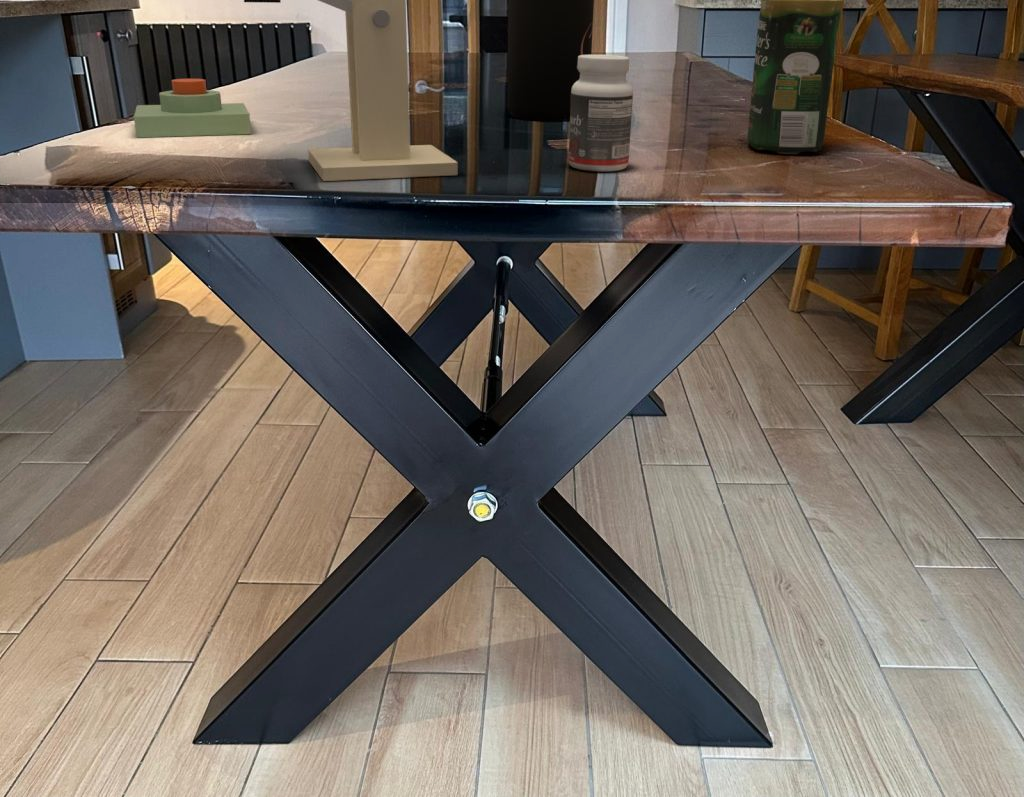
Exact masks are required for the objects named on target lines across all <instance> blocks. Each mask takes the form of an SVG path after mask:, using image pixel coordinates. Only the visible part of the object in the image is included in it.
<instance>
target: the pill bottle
mask: <svg viewBox="0 0 1024 797" xmlns="http://www.w3.org/2000/svg"><path fill="white" fill-rule="evenodd" d="M577 69H578V70H579V72H580V79H579V80H578V81H576V82H575V83H574V85H573V86H572V90H571V110H570V120H569V136H568V138H569V139H568V164H569V166H571V167H572V168H573V169H576V170H580V171H585V172H586V171H587V172H600V173H601V172H602V173H604V172H605V173H607V172H618V171H622V170H624V169H626V168H627V167H628V165H629V161H630V160H629V159H630V147H631V129H632V117H633V116H632V115H633V101H634V100H633V99H634V90H633V87H632V85H631V84H630V82H628V81H627V77H626V76H627V74H628V72H629V71H630V57H629V56H626V55H616V54H591V55H580V56H578V64H577Z"/></svg>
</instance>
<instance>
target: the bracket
mask: <svg viewBox="0 0 1024 797" xmlns="http://www.w3.org/2000/svg"><path fill="white" fill-rule="evenodd" d="M406 2H407V0H352V10H353V14H350V13H348V12H345V11H344V12H345V14H344V15H345V33H346V52H347V70H348V71H347V73H348V90H349V111H350V129H351V130H350V131H351V147H329V148H327V147H325V148H307V149H308V150H307V153H308V162H309V163H310V165H311V166H312V167H313V168H314V170H315V172H316V174H318V176H319V177H320V179H321V180H322V181H323V182H339V181H340V182H341V181H362V180H363V181H364V180H383V179H385V180H386V179H406V178H429V177H431V178H433V177H454V176H455V177H456V176H458V174H459V170H458V169H459V167H458V165H459V164H458V161H457V160H455V159H453V158H452V157H450V156H449V155H448V154H447V153H444V152H443V151H441V150H440V149H438V148H437V147H436V146H433V145H432V144H418V145H417V144H416V145H413V144H412V145H411V144H410V115H409V114H410V112H409V76H408V75H409V74H408V71H409V70H408V40H407V34H408V33H407V5H406V4H407V3H406Z"/></svg>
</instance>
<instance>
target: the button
mask: <svg viewBox="0 0 1024 797" xmlns="http://www.w3.org/2000/svg"><path fill="white" fill-rule="evenodd" d="M171 88H172V91H173V94H175V95H199V94H207V91H206V90H207V82H206V79H203V78H176V79H172V80H171Z"/></svg>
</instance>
